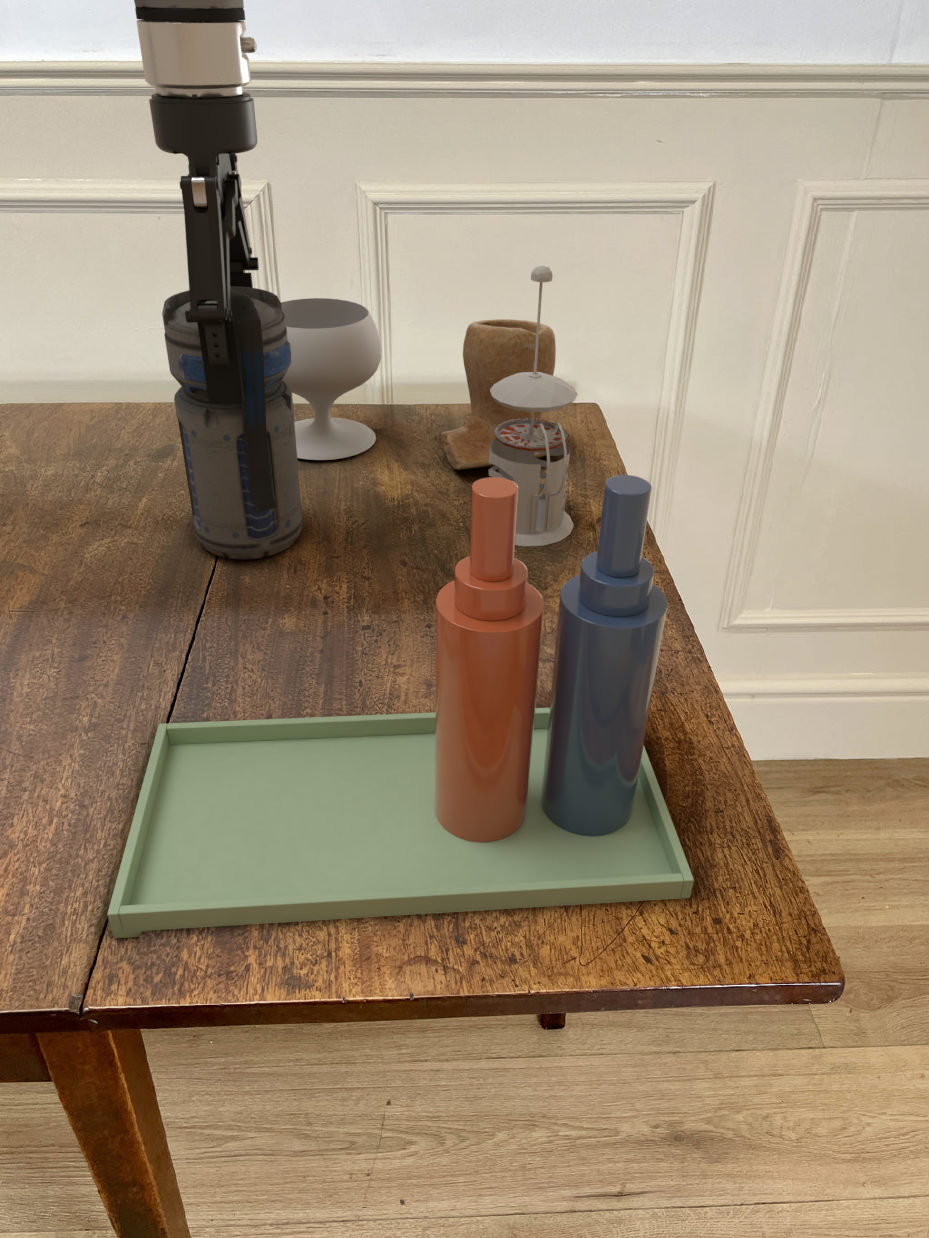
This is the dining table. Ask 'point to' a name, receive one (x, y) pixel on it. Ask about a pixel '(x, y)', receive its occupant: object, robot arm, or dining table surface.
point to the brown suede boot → (486, 362)
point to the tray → (356, 832)
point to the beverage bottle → (238, 431)
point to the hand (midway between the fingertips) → (236, 372)
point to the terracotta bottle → (486, 676)
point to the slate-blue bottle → (604, 671)
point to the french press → (534, 447)
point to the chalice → (329, 371)
